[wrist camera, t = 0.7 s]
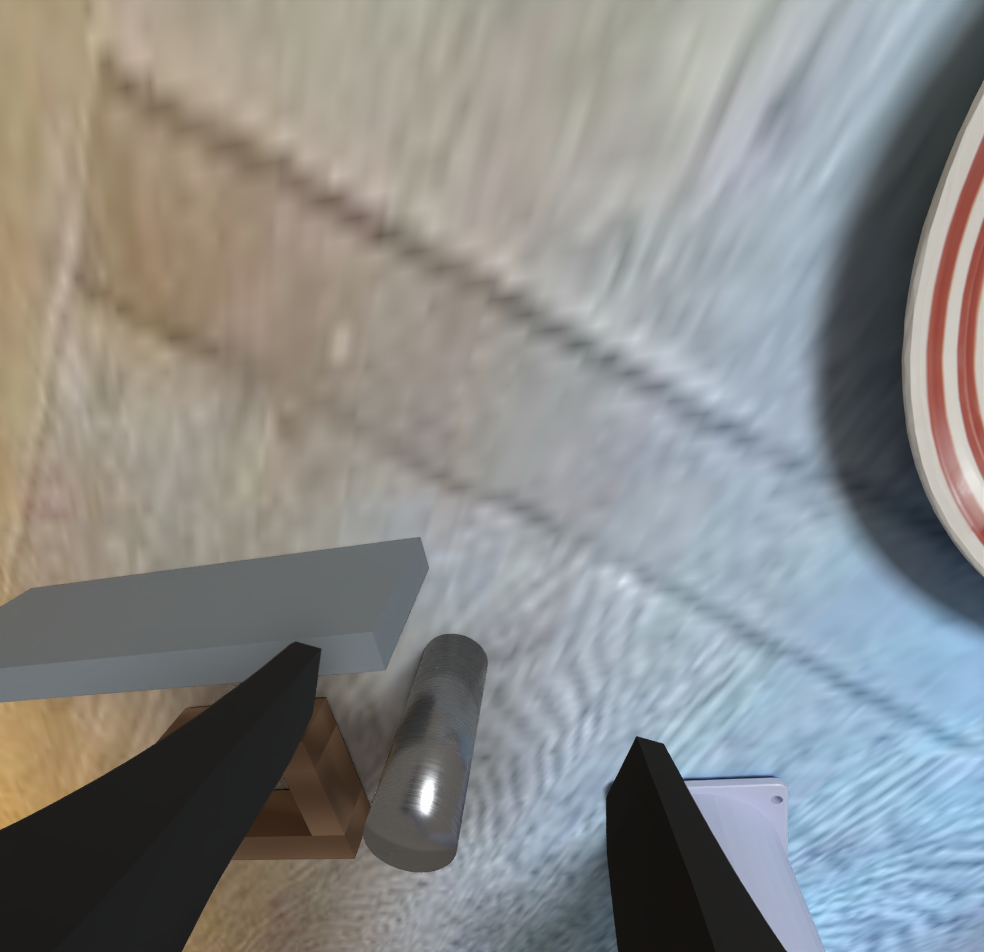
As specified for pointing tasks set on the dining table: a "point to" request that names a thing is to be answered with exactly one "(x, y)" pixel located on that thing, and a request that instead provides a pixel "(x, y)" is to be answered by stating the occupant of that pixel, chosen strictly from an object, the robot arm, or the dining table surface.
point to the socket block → (308, 798)
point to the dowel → (430, 760)
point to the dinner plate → (950, 344)
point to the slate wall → (209, 622)
